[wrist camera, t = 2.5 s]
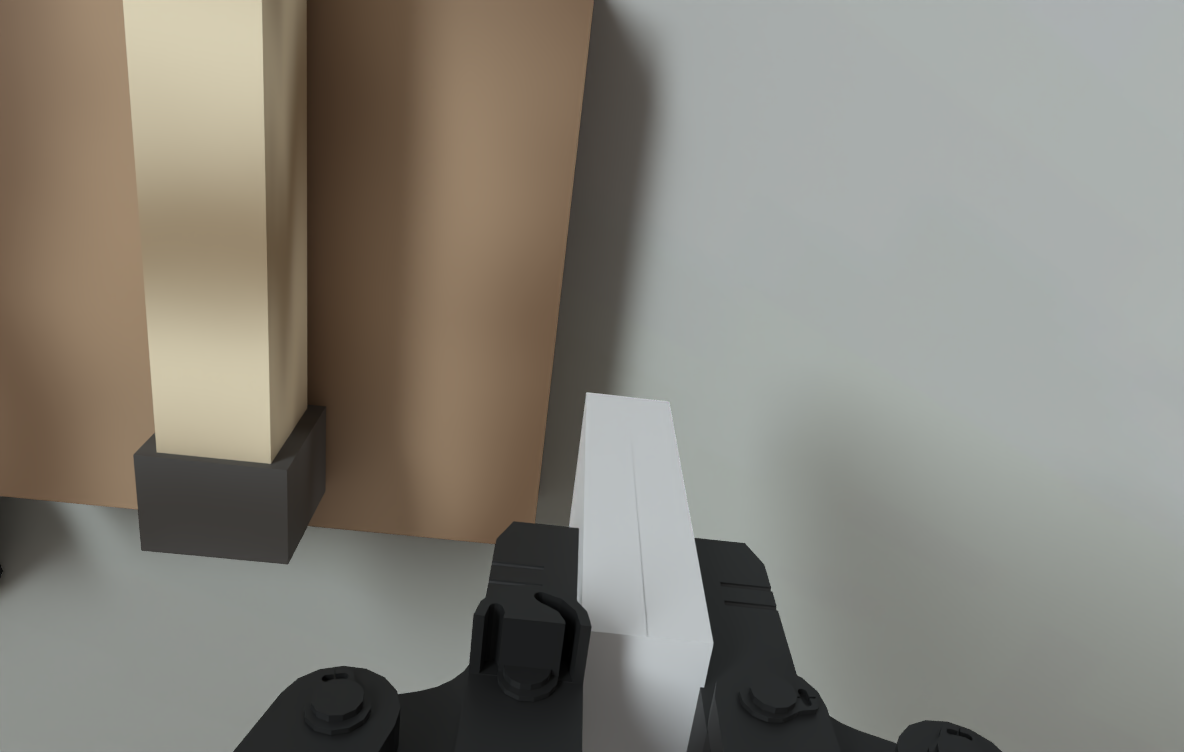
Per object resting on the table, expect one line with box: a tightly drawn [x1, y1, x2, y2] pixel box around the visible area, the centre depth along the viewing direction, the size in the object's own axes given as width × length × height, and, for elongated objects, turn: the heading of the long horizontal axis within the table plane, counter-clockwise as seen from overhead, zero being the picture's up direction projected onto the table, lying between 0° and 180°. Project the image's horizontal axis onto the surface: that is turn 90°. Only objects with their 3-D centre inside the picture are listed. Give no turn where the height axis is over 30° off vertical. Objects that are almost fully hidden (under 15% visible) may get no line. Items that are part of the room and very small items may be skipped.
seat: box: [0, 0, 594, 544], centre depth 19 cm, size 14×20×7 cm
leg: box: [123, 0, 326, 564], centre depth 19 cm, size 15×3×3 cm, turn 173°
